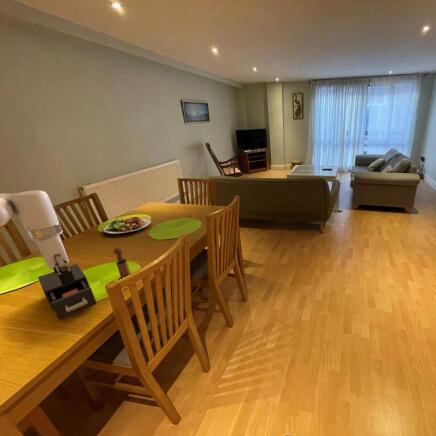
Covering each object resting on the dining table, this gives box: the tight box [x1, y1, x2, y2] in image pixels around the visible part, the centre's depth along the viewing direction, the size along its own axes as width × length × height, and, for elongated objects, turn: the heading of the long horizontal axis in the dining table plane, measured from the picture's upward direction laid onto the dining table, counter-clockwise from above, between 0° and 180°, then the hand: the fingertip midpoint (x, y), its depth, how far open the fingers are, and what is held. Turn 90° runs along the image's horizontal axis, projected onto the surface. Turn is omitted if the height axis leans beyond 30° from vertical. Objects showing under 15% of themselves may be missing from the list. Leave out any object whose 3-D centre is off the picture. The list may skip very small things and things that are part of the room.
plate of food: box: [103, 216, 152, 234], centre depth 165 cm, size 28×28×6 cm
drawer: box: [49, 280, 98, 322], centre depth 93 cm, size 18×11×8 cm, turn 51°
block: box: [62, 289, 79, 298], centre depth 94 cm, size 5×5×5 cm
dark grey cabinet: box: [37, 263, 91, 313], centre depth 100 cm, size 15×13×10 cm
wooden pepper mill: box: [113, 246, 132, 281], centre depth 107 cm, size 7×6×18 cm
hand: (65, 276), depth 80 cm, fingers open, 9 cm apart
